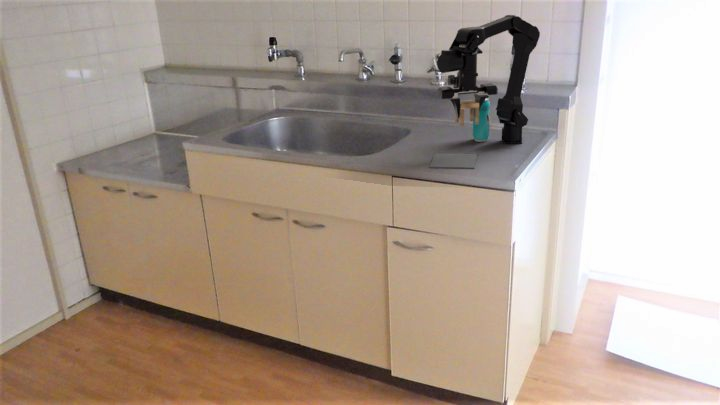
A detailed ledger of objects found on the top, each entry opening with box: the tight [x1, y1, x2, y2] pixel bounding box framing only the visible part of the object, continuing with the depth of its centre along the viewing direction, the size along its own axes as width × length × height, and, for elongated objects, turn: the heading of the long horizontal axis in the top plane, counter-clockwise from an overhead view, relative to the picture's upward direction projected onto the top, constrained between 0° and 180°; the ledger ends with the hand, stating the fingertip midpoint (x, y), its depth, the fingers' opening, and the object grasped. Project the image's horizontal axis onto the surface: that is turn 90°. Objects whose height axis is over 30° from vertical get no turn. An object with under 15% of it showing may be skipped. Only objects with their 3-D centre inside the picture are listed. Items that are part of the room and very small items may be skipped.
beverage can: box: [472, 97, 491, 143], centre depth 212 cm, size 6×6×15 cm
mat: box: [429, 152, 478, 170], centre depth 194 cm, size 14×14×1 cm
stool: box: [454, 99, 479, 127], centre depth 197 cm, size 6×6×7 cm
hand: (466, 117), depth 197 cm, fingers closed on stool, 5 cm apart
